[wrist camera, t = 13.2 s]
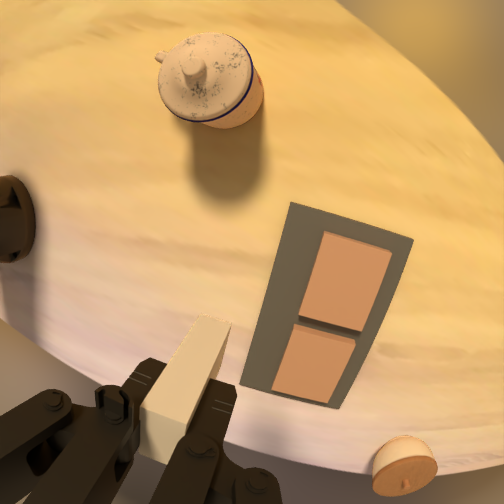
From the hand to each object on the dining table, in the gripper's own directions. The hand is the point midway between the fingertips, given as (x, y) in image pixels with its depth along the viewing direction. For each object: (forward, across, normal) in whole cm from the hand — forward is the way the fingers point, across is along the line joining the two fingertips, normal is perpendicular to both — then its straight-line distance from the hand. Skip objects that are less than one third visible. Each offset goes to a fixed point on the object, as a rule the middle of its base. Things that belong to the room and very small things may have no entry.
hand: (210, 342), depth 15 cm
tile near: (+22, +6, -3) cm, 23 cm away
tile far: (+22, +6, -15) cm, 27 cm away
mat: (+23, +9, -8) cm, 27 cm away
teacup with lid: (+24, -10, +15) cm, 30 cm away
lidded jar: (+23, +32, -28) cm, 48 cm away
